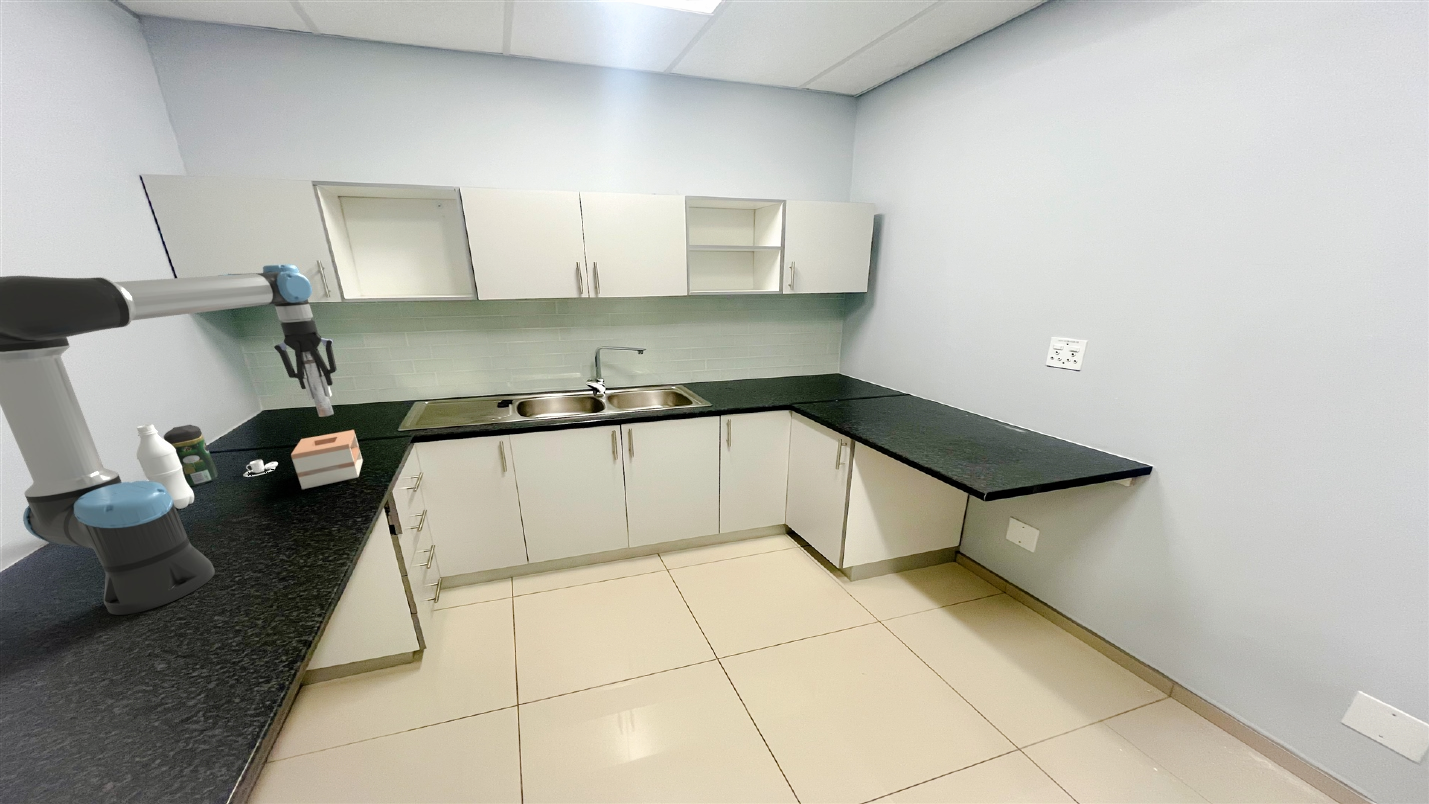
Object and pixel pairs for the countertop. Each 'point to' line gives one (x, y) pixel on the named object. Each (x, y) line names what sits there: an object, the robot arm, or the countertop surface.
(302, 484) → the tissue box
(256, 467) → the teacup and saucer
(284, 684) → the countertop surface
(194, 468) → the coffee jar
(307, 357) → the metal tube
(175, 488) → the water bottle
